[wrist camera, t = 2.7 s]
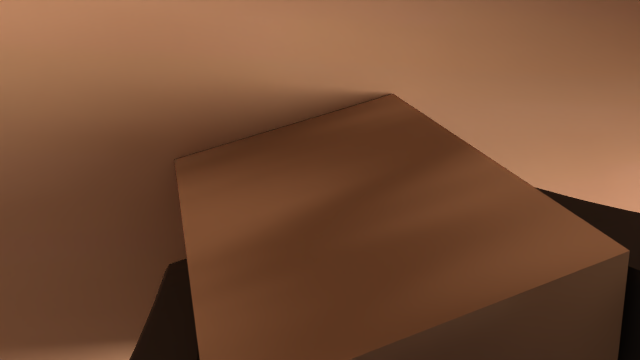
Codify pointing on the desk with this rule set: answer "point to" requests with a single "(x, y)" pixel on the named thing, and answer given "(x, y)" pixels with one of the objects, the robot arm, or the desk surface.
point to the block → (388, 249)
